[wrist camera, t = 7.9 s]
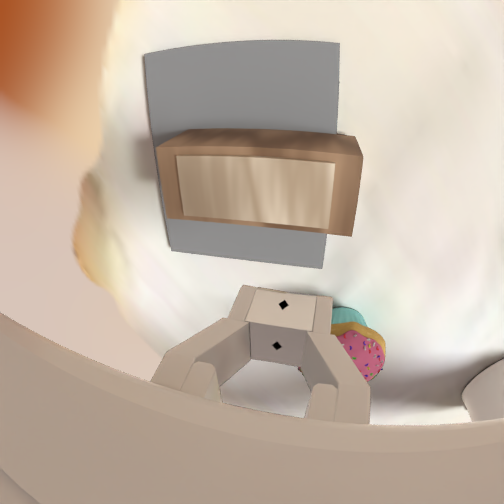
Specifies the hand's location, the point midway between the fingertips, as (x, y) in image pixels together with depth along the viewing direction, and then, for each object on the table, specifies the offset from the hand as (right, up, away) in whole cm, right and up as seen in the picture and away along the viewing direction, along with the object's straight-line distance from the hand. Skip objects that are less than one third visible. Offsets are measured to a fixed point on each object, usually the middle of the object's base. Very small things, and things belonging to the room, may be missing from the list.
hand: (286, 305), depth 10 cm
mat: (-2, +9, +12) cm, 15 cm away
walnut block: (+5, +6, +8) cm, 11 cm away
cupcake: (+8, -5, +19) cm, 22 cm away
